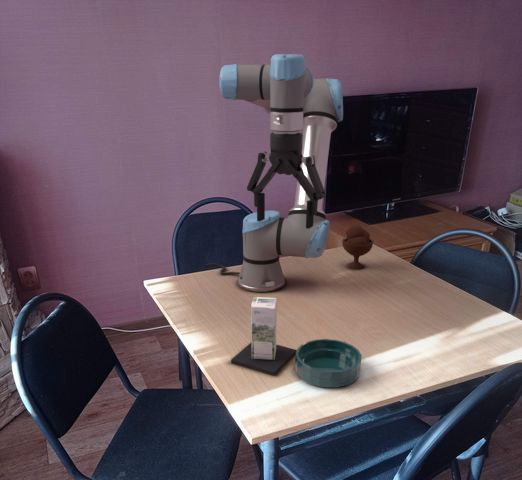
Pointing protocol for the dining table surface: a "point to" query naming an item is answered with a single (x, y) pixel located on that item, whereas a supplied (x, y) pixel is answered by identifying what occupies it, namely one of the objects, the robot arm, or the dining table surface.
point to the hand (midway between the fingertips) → (284, 223)
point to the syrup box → (263, 328)
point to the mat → (264, 365)
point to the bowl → (328, 363)
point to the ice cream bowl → (357, 244)
